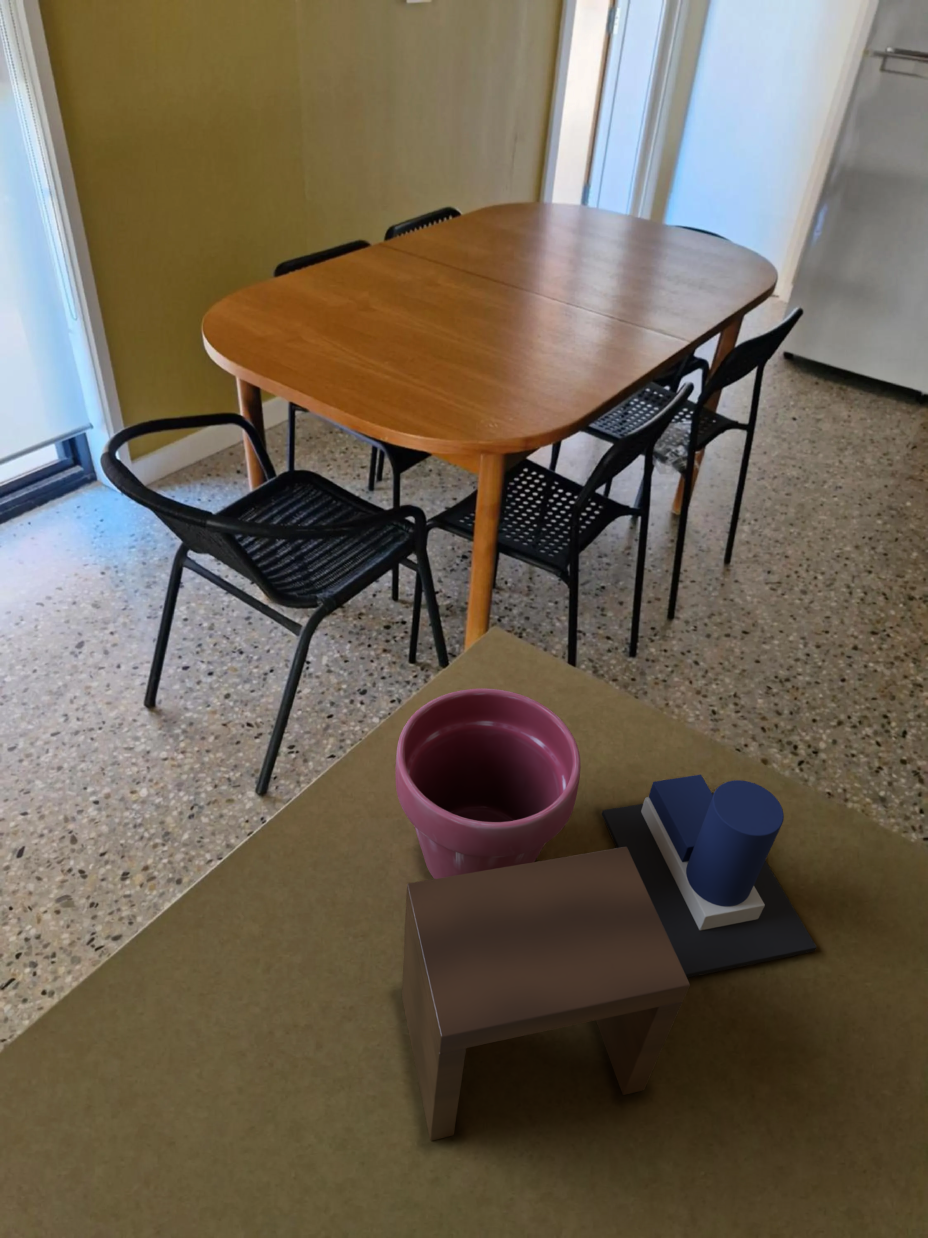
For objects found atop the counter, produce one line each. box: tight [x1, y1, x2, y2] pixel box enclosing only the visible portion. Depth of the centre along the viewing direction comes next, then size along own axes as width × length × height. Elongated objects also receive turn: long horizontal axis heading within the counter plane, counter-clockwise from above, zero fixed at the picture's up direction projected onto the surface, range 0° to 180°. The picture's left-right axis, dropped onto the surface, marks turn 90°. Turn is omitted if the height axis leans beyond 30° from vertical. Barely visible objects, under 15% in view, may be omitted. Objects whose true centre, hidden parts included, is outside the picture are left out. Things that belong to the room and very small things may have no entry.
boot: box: [641, 774, 785, 930], centre depth 72 cm, size 12×5×11 cm, turn 14°
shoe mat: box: [601, 792, 818, 979], centre depth 74 cm, size 16×12×1 cm
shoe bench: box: [401, 847, 691, 1141], centre depth 58 cm, size 10×15×14 cm, turn 104°
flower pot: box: [395, 688, 582, 879], centre depth 71 cm, size 14×14×13 cm
